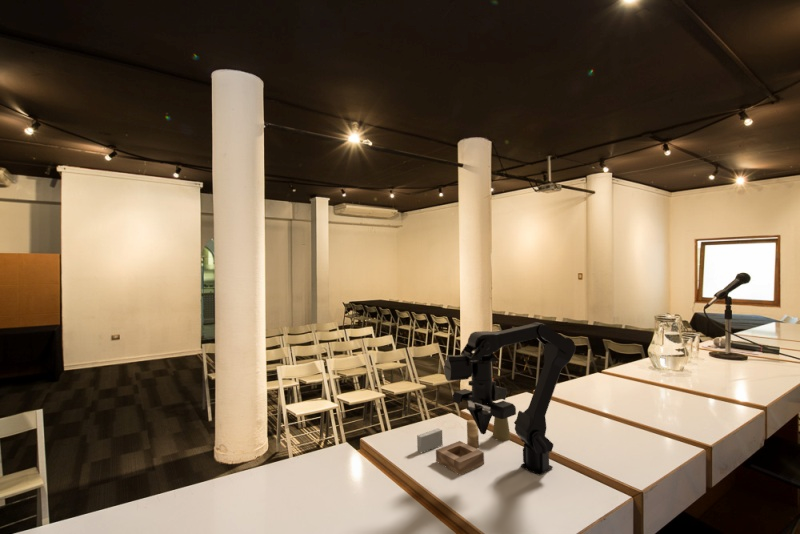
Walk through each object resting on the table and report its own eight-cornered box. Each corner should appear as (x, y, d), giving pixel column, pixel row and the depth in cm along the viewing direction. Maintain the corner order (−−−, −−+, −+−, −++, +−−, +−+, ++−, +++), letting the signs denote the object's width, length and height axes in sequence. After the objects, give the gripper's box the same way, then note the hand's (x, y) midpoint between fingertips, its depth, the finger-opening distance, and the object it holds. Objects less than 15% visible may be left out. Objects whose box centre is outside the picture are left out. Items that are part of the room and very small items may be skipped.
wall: (442, 445, 129) (442, 430, 129) (421, 453, 124) (421, 437, 124) (438, 443, 131) (438, 428, 131) (417, 451, 125) (417, 435, 125)
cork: (506, 442, 130) (505, 409, 130) (489, 438, 134) (488, 405, 134) (513, 436, 135) (512, 404, 135) (496, 432, 139) (496, 401, 139)
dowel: (481, 447, 127) (480, 422, 127) (473, 450, 125) (472, 425, 125) (472, 443, 130) (472, 419, 130) (465, 446, 128) (464, 421, 128)
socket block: (484, 464, 116) (483, 452, 116) (459, 474, 110) (459, 462, 110) (459, 452, 124) (459, 440, 124) (436, 461, 118) (435, 449, 118)
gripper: (527, 379, 107) (529, 436, 107) (476, 367, 122) (478, 417, 122) (501, 387, 100) (502, 448, 100) (450, 373, 115) (452, 426, 115)
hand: (483, 433), depth 109 cm, fingers closed
